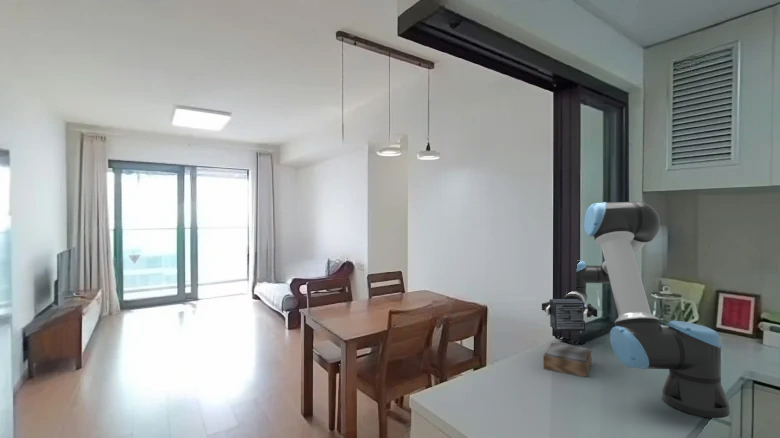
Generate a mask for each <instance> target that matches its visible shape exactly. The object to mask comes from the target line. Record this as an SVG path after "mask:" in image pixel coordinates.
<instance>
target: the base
mask: <svg viewBox="0 0 780 438" xmlns="http://www.w3.org/2000/svg"><path fill="white" fill-rule="evenodd" d="M591 364H592V350H590V348H587V347H582V346H575V345H569V344H562V343H558V342H551V343H550V345H549V346H548V348H547V350H546V351H545V352H544V355H543V370H544V369H545V370H549V371H553V372H560V373H565V374H568V375H575V376H578V377H579V376H580V377H584V378H588V376H589V372H590V368H591Z"/></svg>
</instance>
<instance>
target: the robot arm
mask: <svg viewBox="0 0 780 438" xmlns="http://www.w3.org/2000/svg"><path fill="white" fill-rule="evenodd" d="M583 221H584V232H585V234H586V235H587V236H589V237H592V238H593V239H594V243H595V244H596V245H597V246H599V247H601V251H602V254H603V255H602V256H603V259H604V261H603V262H602V263H601V265H588V264H586V262H585V261H584V260H579V261H580V262H579V263H578V264H577V269H576V270H577V271H576V276H577V278H576V282H577V283H576V285H577V287H576V291H571V292H569V293H568V294H567V293H566V295H564V297H563V298H562V299H578V300H580V301H582V302H584V303H585V304H584V309H585V311H584V321H585V322H587V320H588V318H591V317H595V318H597V317H598V309H597V308H595V307H594V306H592V304H591V303H587V301H588V294H587V284H610V287H611V292H612V294H613V295H612V296H613V300H614V303H615V307H616V311H617V316H618V317H617V318H616V319H615V321H614V326H613V327H612V328H611V330H609V335H610V337H609V339H610V344H611V347H612V350H613V353H614V354H615V356H616V358H617V359H618V360H619V361H620V363H621V364H622V365H624V366H626V367H628V368H632V369H641V370H647V369H650V370H651V369H652V370H653V369H654V370H668V375H667V377H666V378H665V381H664V383H663V385H662V389H661V395H662V396H661V398H662V400H663V401H664V402H665V403H666V404H668V405H669V406H671V407H673V408H674V409H676V410H678V411H681V412H683V413H687V414H690V415H694V416H698V417H702V418H707V419H709V418H711V419H724V418H726V417H728V416H730V414H731V410H730V409H731V405H730V402H729V400H728V396H727V394H726V393H725V390H724V387H723V385H722V372H721V371H722V356H721V354H722V343H721V336H720V334H719V333H718V332H717V331H716V330H714V329H712V328H710V327H707V326H704V325H700V324H696V323H692V322H688V321H681V320H670V321H668V323H667V327H665V326H662V324H661V322H660V321H661V320H660V319H659V317H657V316H655V315H653V313H652V312H651V308H650V304H649V302H648V297H647V295H646V291H645V287H644V283H643V280H642V276H641V274H640V270H639V267H638V262H637V259H636V255H637V254H638V253H639V252H640V251H641V249H642V248H643V247H644V246H645V245H646V243H651V242H652V241H653V240H654V239H655V237H656V236H657V235H658V233H659V232H660V229H661V218H660V216H659V214H658V212H657V211H656V210H655V208H654V207H652V206H651V205H650V204H647V203H644V202H642V201H623V202H622V201H620V202H618V201H617V202H615V201H614V202H606V201H603V202H595V203H592V204H591V205H589V206H588V208H587V209H586V213H585V217H584V220H583ZM578 288H580V289H578ZM541 311H544V312H545V316H546V317H550V301H546V302H542V303H541Z"/></svg>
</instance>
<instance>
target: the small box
mask: <svg viewBox="0 0 780 438" xmlns="http://www.w3.org/2000/svg"><path fill="white" fill-rule="evenodd" d="M549 302H550V314H549V326H550V328H552V329H553V330H554V331H555V332H586V321H584V311H585V309H584V305H586V302H585V303H584V302H582V301H580V300H578V299H563V298H559V299H558V298H551V299H549Z"/></svg>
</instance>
